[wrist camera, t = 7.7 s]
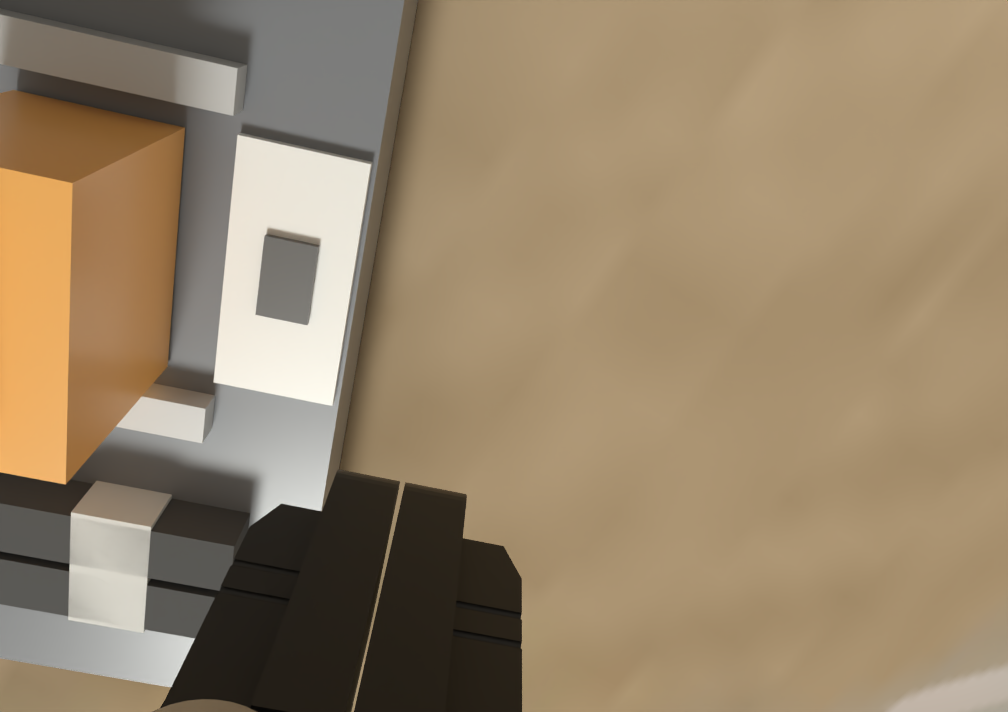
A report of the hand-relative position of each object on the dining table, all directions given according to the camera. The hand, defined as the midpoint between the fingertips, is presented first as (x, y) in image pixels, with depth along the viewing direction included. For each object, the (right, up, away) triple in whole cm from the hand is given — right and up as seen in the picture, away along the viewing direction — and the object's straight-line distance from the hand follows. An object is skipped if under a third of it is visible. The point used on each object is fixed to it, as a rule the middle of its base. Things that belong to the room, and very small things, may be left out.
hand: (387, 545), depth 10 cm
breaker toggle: (-6, +5, +6) cm, 10 cm away
